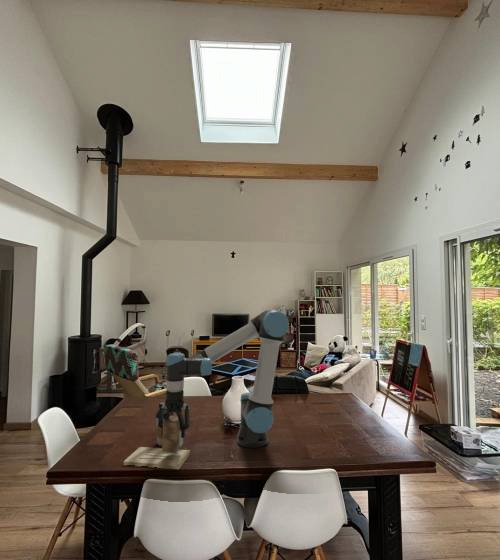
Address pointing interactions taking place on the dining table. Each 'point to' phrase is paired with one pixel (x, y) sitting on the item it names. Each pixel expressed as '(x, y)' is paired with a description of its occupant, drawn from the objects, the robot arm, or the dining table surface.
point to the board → (157, 458)
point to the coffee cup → (159, 430)
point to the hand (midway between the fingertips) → (173, 444)
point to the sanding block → (171, 435)
